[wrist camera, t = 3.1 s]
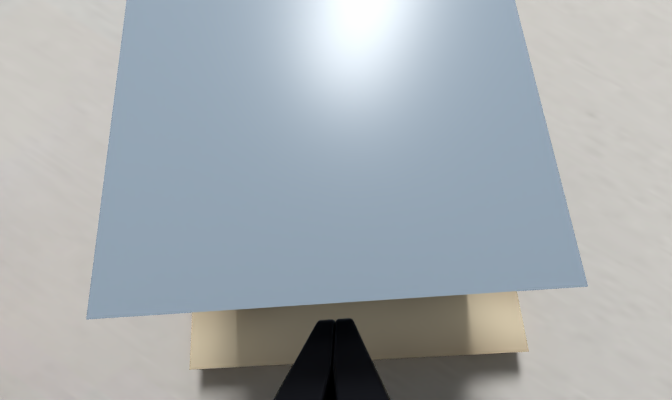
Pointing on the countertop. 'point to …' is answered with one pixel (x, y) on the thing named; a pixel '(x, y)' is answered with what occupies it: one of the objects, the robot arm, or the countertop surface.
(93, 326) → the countertop surface
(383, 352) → the flat panel
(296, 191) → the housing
